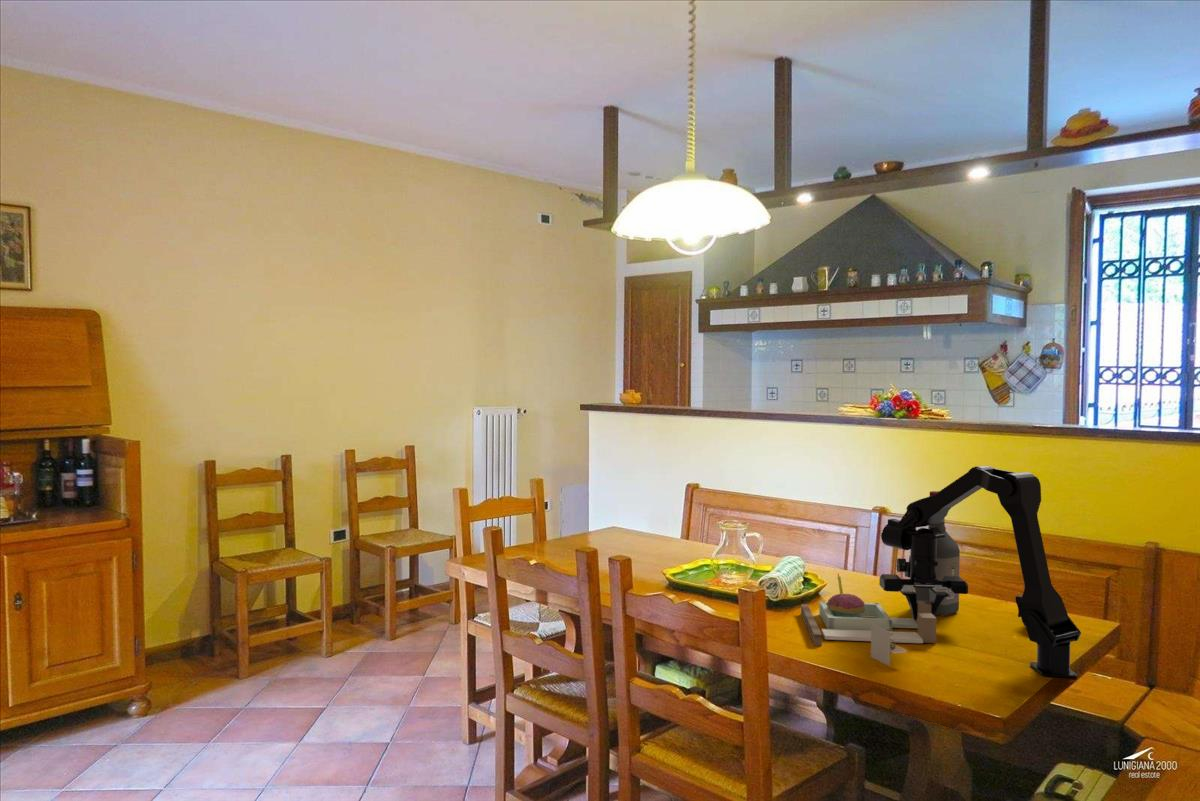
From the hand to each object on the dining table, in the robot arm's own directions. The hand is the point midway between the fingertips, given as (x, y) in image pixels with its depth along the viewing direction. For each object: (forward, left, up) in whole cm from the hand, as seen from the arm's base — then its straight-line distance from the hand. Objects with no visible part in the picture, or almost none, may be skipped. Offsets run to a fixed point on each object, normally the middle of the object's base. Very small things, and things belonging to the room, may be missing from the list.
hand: (922, 619), depth 184 cm
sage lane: (0, +11, -1) cm, 11 cm away
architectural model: (-24, +14, -2) cm, 28 cm away
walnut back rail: (-5, +26, -2) cm, 27 cm away
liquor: (+14, -7, -2) cm, 16 cm away
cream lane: (-11, +12, -1) cm, 16 cm away
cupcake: (0, +17, -2) cm, 18 cm away
